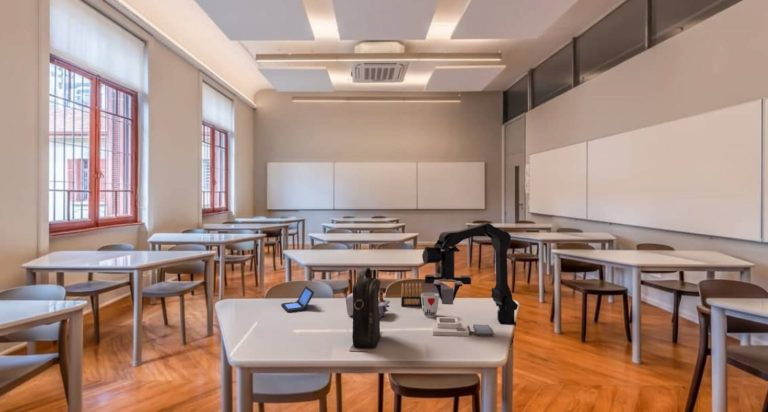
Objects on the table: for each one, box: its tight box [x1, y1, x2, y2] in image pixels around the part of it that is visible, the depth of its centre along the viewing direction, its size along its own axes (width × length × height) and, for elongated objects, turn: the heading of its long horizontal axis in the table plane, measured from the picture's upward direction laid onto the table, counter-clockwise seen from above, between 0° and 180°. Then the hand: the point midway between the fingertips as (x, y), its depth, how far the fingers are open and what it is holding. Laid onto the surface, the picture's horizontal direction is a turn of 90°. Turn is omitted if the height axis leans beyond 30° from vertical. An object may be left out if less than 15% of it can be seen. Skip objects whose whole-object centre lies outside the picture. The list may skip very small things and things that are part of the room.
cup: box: [421, 292, 440, 318], centre depth 188 cm, size 8×8×10 cm
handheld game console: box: [280, 285, 315, 314], centre depth 205 cm, size 16×13×9 cm
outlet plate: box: [432, 316, 470, 337], centre depth 167 cm, size 14×14×4 cm
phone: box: [472, 324, 494, 338], centre depth 165 cm, size 6×12×1 cm, turn 174°
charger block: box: [441, 285, 454, 306], centre depth 169 cm, size 4×4×7 cm
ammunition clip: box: [400, 282, 423, 308], centre depth 206 cm, size 11×2×12 cm, turn 85°
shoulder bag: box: [348, 266, 383, 353], centre depth 155 cm, size 23×9×28 cm, turn 173°
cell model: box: [345, 292, 391, 319], centre depth 190 cm, size 13×11×20 cm
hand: (447, 300), depth 169 cm, fingers closed on charger block, 4 cm apart
